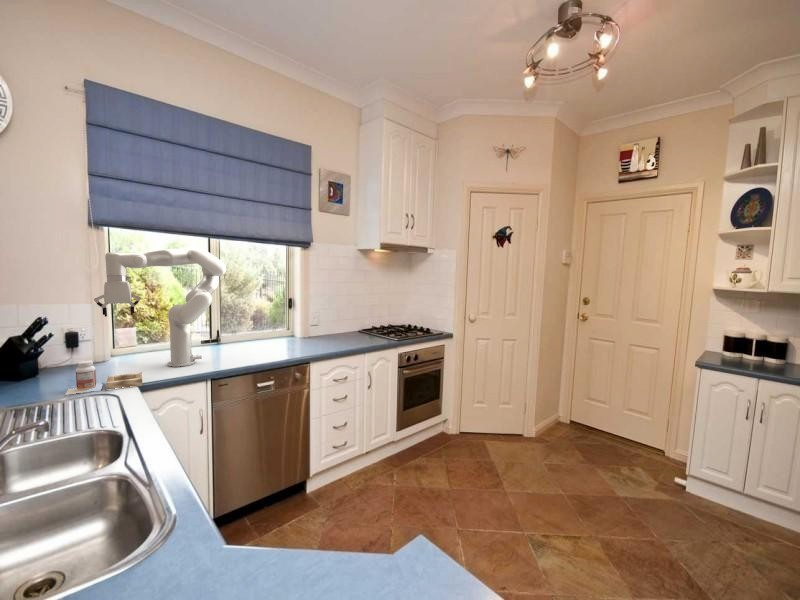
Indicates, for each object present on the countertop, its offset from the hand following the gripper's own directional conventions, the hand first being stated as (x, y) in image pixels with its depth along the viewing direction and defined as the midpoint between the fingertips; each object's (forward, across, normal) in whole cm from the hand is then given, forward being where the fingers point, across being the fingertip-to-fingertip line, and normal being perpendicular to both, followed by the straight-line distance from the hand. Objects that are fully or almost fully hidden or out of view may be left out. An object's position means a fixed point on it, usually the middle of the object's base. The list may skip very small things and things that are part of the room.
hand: (119, 315), depth 170 cm
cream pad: (+28, +12, +20) cm, 36 cm away
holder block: (+28, -1, +20) cm, 35 cm away
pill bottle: (+27, +11, +20) cm, 36 cm away
